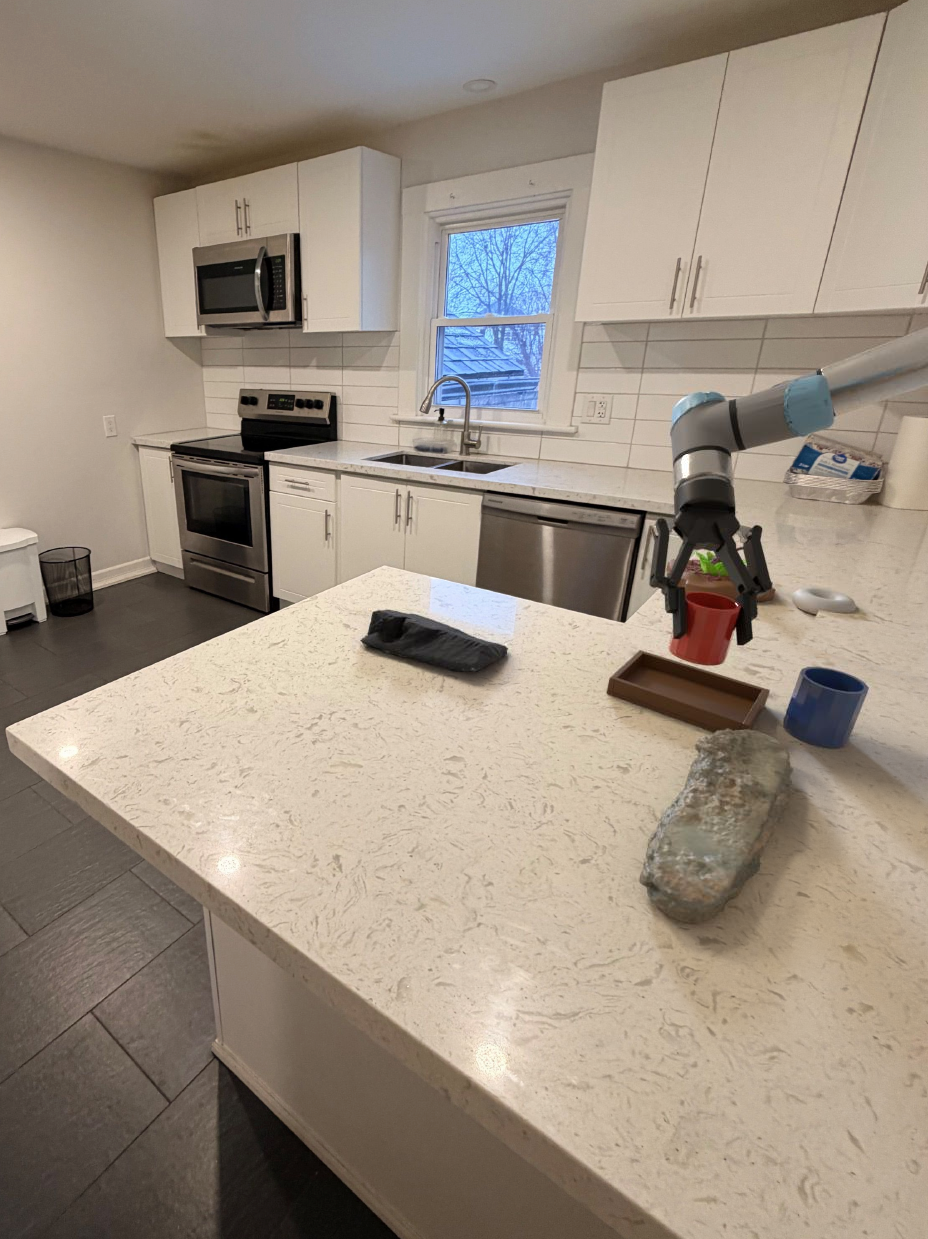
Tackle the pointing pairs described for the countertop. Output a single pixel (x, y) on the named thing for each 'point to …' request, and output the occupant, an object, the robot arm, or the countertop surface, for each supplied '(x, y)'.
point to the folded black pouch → (430, 641)
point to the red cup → (707, 628)
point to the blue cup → (824, 707)
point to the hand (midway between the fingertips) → (712, 638)
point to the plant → (711, 577)
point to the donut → (822, 600)
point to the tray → (688, 693)
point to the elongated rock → (717, 824)
